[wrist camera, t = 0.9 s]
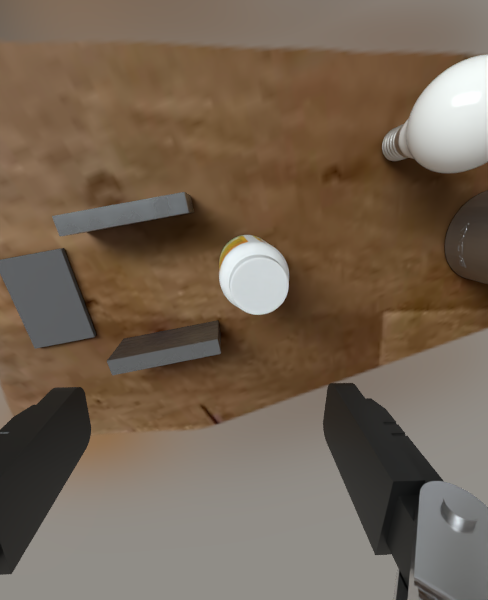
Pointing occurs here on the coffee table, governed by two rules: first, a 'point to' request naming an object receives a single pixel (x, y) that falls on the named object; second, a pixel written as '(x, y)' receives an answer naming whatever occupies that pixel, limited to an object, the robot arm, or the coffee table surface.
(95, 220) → the grey bricks
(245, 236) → the supplement bottle
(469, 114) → the lightbulb
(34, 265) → the gray rectangular block
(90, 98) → the coffee table surface
